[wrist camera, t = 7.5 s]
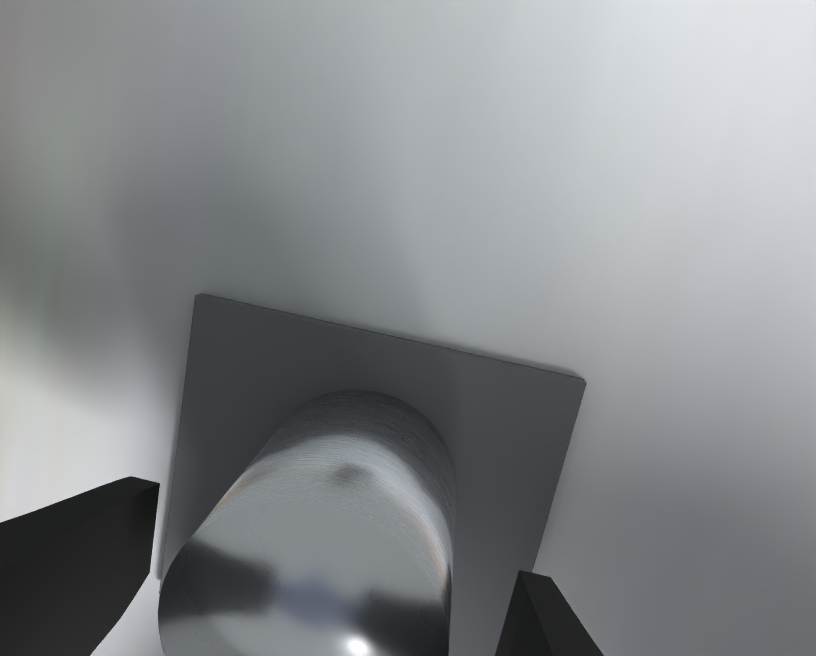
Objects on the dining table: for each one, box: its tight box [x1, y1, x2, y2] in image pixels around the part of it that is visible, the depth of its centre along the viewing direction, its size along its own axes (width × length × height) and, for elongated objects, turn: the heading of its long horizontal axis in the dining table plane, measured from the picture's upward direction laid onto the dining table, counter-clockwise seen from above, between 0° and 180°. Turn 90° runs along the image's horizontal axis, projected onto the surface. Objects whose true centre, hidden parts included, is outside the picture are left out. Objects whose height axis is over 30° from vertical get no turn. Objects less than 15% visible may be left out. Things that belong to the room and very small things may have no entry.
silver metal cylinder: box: [158, 390, 457, 656], centre depth 12 cm, size 5×7×5 cm, turn 166°
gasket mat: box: [159, 294, 586, 656], centre depth 15 cm, size 9×8×1 cm
